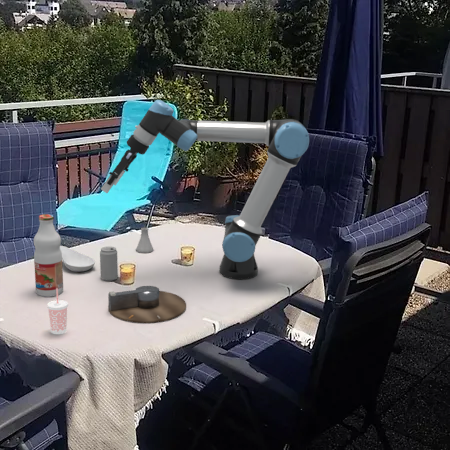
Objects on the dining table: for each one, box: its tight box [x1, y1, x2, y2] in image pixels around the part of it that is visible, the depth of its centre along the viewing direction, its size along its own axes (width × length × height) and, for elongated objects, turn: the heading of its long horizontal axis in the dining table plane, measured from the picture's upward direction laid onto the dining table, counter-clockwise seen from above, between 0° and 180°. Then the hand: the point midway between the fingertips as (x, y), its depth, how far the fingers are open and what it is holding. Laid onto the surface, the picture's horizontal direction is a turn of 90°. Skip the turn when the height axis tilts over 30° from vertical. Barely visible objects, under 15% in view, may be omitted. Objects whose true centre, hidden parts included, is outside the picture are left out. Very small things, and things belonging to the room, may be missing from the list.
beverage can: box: [99, 246, 119, 282], centre depth 236 cm, size 6×6×12 cm
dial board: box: [107, 290, 187, 324], centre depth 213 cm, size 26×26×1 cm
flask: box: [135, 227, 154, 254], centre depth 271 cm, size 7×7×10 cm
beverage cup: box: [46, 288, 69, 335], centre depth 192 cm, size 6×6×14 cm
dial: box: [107, 285, 160, 310], centre depth 210 cm, size 17×8×6 cm, turn 115°
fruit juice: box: [33, 213, 64, 297], centre depth 220 cm, size 9×9×28 cm
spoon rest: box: [60, 245, 96, 273], centre depth 249 cm, size 24×12×7 cm, turn 56°
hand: (108, 187), depth 228 cm, fingers open, 13 cm apart
